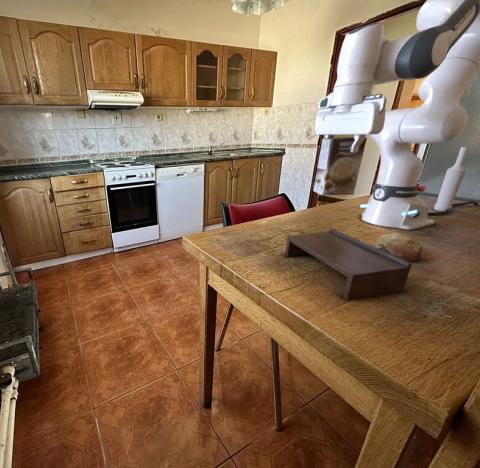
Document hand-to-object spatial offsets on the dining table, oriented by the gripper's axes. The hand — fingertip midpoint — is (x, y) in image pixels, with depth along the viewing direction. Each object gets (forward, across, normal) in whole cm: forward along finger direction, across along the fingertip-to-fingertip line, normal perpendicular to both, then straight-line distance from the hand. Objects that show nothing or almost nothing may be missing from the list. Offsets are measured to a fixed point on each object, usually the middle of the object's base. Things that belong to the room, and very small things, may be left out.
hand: (340, 151), depth 74 cm
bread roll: (+28, -15, -11) cm, 33 cm away
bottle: (+28, +14, -68) cm, 75 cm away
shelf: (+27, -19, +12) cm, 35 cm away
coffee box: (+12, 0, 0) cm, 12 cm away
